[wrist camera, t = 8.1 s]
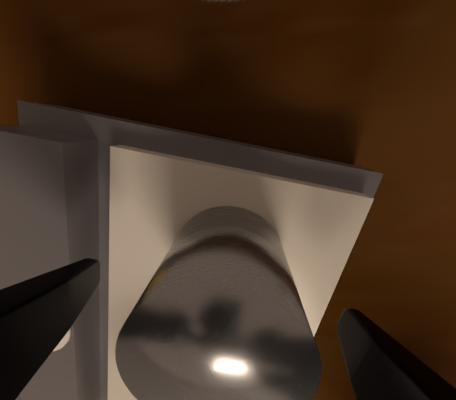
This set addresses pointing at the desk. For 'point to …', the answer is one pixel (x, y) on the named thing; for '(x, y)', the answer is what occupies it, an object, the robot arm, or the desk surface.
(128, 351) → the cylinder
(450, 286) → the desk surface
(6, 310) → the robot arm
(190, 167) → the scale
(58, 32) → the desk surface
